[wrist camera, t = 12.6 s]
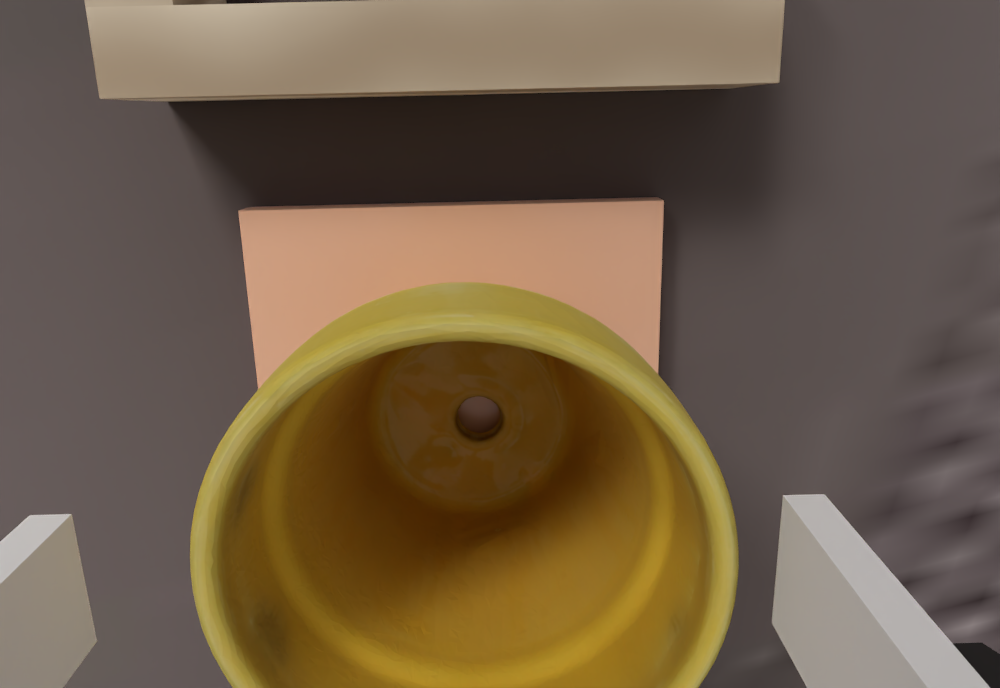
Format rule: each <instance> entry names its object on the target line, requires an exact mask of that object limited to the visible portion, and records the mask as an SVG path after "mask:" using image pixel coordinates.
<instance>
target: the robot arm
mask: <svg viewBox="0 0 1000 688" xmlns="http://www.w3.org/2000/svg"><path fill="white" fill-rule="evenodd" d="M772 624H773V626H774V628H775V630H776V632H777V633H778V635H779V637H780V639H781V641H782V643H783V644H784V646H785V648H786V650H787V652H788V654H789V655H790V657H791V659H792V661H793V663H794V665H795V667H796V668H797V670H798V672H799V674H800V676H801V678H802V679H803V681H804V683H805V685H806V687H807V688H1000V654H998V653H997V652H995V651H994V650H992V649H991V648H989V647H988V646H986V645H984V644H983V643H956V644H952V642H951V641H950V640H949V639H948V638H947V637H946V635H945V634H944V633H943V632H942V631H941V630H940V628H939V627H938V626H937V625H936V624H935V623H934V621H933V620H932V619H931V618H930V617H929V616H928V614H927V613H926V612H925V611H924V610H923V609H922V607H921V606H920V605H919V604H918V603H917V602H916V600H915V599H914V598H913V597H912V596H911V595H910V593H909V592H908V591H907V590H906V589H905V588H904V586H903V585H902V584H901V583H900V582H899V581H898V579H897V578H896V577H895V576H894V575H893V574H892V572H891V571H890V570H889V569H888V568H887V567H886V565H885V564H884V563H883V562H882V561H881V560H880V558H879V557H878V556H877V555H876V554H875V553H874V551H873V550H872V549H871V548H870V547H869V546H868V544H867V543H866V542H865V541H864V540H863V539H862V537H861V536H860V535H859V534H858V533H857V532H856V530H855V529H854V528H853V527H852V526H851V525H850V523H849V522H848V521H847V520H846V519H845V518H844V516H843V515H842V514H841V513H840V512H839V511H838V509H837V508H836V507H835V506H834V505H833V504H832V502H831V501H830V500H829V499H828V498H827V497H826V495H825V494H811V495H783V501H782V513H781V524H780V535H779V547H778V558H777V569H776V580H775V592H774V603H773V614H772ZM96 642H97V639H96V634H95V629H94V624H93V619H92V614H91V609H90V604H89V599H88V594H87V589H86V584H85V579H84V574H83V569H82V564H81V559H80V554H79V549H78V544H77V539H76V534H75V529H74V524H73V519H72V514H57V515H30V516H28V517H27V518H26V519H25V520H24V521H23V522H22V523H21V524H20V525H18V526H17V527H16V528H15V529H14V530H13V531H12V532H11V533H9V534H8V535H7V536H6V537H5V538H4V539H3V540H2V541H1V542H0V688H63V687H64V686H65V684H66V683H67V682H68V680H69V679H70V677H71V676H72V675H73V673H74V672H75V671H76V669H77V668H78V667H79V665H80V664H81V662H82V661H83V660H84V658H85V657H86V656H87V654H88V653H89V651H90V650H91V649H92V647H93V646H94V645H95V643H96Z"/></svg>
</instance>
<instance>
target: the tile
mask: <svg viewBox="0 0 1000 688" xmlns="http://www.w3.org/2000/svg"><path fill="white" fill-rule="evenodd" d="M663 212H664V200H662V199H660V198H658V197H642V198H600V199H558V200H516V201H475V202H433V203H391V204H349V205H308V206H266V207H247V208H244V209H242V210H239V211H238V213H239V222H240V231H241V239H242V248H243V257H244V266H245V275H246V284H247V293H248V302H249V311H250V320H251V329H252V338H253V347H254V355H255V364H256V373H257V382H258V389H259V388H260V387H261V386H262V385H263V383H264V382H265V381H266V380H267V379H268V378H269V377H270V376H271V374H272V373H273V372H274V371H275V370H276V369H277V368H278V367H279V366H280V365H281V364H282V363H283V362H284V361H285V360H286V359H287V358H288V357H289V356H290V355H291V354H292V353H293V352H294V351H295V350H296V349H298V348H299V347H300V346H301V345H302V344H304V343H305V342H306V341H307V340H308V339H310V338H311V337H312V336H313V335H314V334H316V333H317V332H318V331H320V330H321V329H322V328H324V327H325V326H327V325H328V324H329V323H331V322H332V321H334V320H335V319H337V318H339V317H341V316H342V315H344V314H346V313H348V312H349V311H351V310H353V309H355V308H357V307H359V306H361V305H363V304H365V303H367V302H370V301H373V300H375V299H378V298H380V297H383V296H386V295H389V294H392V293H395V292H399V291H402V290H406V289H411V288H415V287H420V286H425V285H431V284H439V283H453V282H476V283H490V284H499V285H505V286H511V287H516V288H521V289H525V290H529V291H533V292H536V293H540V294H543V295H545V296H548V297H551V298H554V299H556V300H559V301H561V302H563V303H566V304H568V305H570V306H572V307H574V308H576V309H578V310H580V311H582V312H584V313H586V314H588V315H589V316H591V317H593V318H595V319H596V320H598V321H599V322H601V323H602V324H604V325H605V326H607V327H608V328H609V329H611V330H612V331H613V332H615V333H616V334H617V335H619V336H620V337H621V338H623V339H624V340H625V341H626V342H627V343H628V344H629V345H630V346H631V347H633V348H634V349H635V350H636V351H637V352H638V353H639V354H640V355H641V356H642V357H643V358H644V359H645V361H646V362H647V363H648V364H649V365H650V366H651V367H652V368H653V369H654V370H655V372H656V373H657V374H658V363H659V333H660V303H661V273H662V242H663ZM458 416H459V419H460V422H461V423H462V425H463V426H464V427H465V428H467V429H468V430H470V431H472V432H477V433H484V432H488V431H490V430H492V429H493V428H494V427H495V426H496V425H497V424H498V422H499V419H500V411H499V408H498V406H497V405H496V404H495V403H494V402H493V401H492V400H489V399H487V398H485V397H481V396H476V397H472V398H468V399H467V400H465V401H464V402H463V403H462V404H461V406H460V408H459V410H458Z"/></svg>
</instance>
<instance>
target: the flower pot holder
mask: <svg viewBox="0 0 1000 688" xmlns="http://www.w3.org/2000/svg"><path fill="white" fill-rule="evenodd" d="M85 7H86V14H87V20H88V27H89V33H90V40H91V46H92V53H93V59H94V66H95V72H96V79H97V85H98V92H99V98H100V99H115V100H137V101H158V102H182V101H225V100H267V99H309V98H351V97H393V96H435V95H477V94H519V93H561V92H603V91H645V90H687V89H729V88H739V87H747V86H755V85H764V84H772V83H779V78H780V64H781V50H782V35H783V21H784V7H785V0H370V1H327V2H285V3H243V4H227V1H226V0H85Z"/></svg>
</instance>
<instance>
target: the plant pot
mask: <svg viewBox="0 0 1000 688" xmlns="http://www.w3.org/2000/svg"><path fill="white" fill-rule="evenodd" d="M476 396H481V397H485V398H487V399H489V400H492V401H493V402H494V403H495V404H496V405H497V406H498V408H499V411H500V419H499V422H498V424H497V425H496V426H495V427H494V428H493V429H492V430H490V431H488V432H484V433H477V432H472V431H470V430H468V429H467V428H465V427H464V426H463V425H462V423H461V422H460V419H459V416H458V410H459V408H460V406H461V404H462V403H463V402H464V401H465V400H467V399H468V398H472V397H476ZM190 568H191V580H192V588H193V594H194V599H195V604H196V609H197V612H198V616H199V619H200V623H201V626H202V630H203V632H204V635H205V637H206V639H207V642H208V644H209V646H210V649H211V651H212V653H213V656H214V657H215V659H216V661H217V663H218V664H219V666H220V668H221V670H222V672H223V673H224V675H225V676H226V678H227V680H228V681H229V683H230V684H231V686H232V687H233V688H699V686H700V685H701V683H702V682H703V680H704V679H705V677H706V675H707V674H708V672H709V670H710V669H711V667H712V665H713V663H714V662H715V660H716V657H717V655H718V653H719V651H720V649H721V646H722V644H723V641H724V639H725V636H726V633H727V630H728V627H729V624H730V621H731V616H732V612H733V608H734V603H735V596H736V589H737V580H738V569H739V552H738V538H737V530H736V522H735V517H734V512H733V508H732V503H731V499H730V496H729V493H728V490H727V487H726V484H725V481H724V478H723V476H722V473H721V471H720V468H719V466H718V464H717V462H716V460H715V458H714V456H713V454H712V452H711V450H710V448H709V447H708V445H707V443H706V441H705V439H704V437H703V436H702V434H701V433H700V431H699V430H698V428H697V427H696V425H695V424H694V422H693V421H692V419H691V418H690V416H689V415H688V413H687V412H686V410H685V409H684V407H683V406H682V404H681V403H680V402H679V400H678V399H677V398H676V396H675V395H674V393H673V392H672V391H671V389H670V388H669V387H668V386H667V385H666V383H665V382H664V381H663V380H662V379H661V378H660V376H659V375H658V374H657V373H656V372H655V370H654V369H653V368H652V367H651V366H650V365H649V364H648V363H647V362H646V361H645V359H644V358H643V357H642V356H641V355H640V354H639V353H638V352H637V351H636V350H635V349H634V348H633V347H631V346H630V345H629V344H628V343H627V342H626V341H625V340H624V339H623V338H621V337H620V336H619V335H617V334H616V333H615V332H613V331H612V330H611V329H609V328H608V327H607V326H605V325H604V324H602V323H601V322H599V321H598V320H596V319H595V318H593V317H591V316H589V315H588V314H586V313H584V312H582V311H580V310H578V309H576V308H574V307H572V306H570V305H568V304H566V303H563V302H561V301H559V300H556V299H554V298H551V297H548V296H545V295H543V294H540V293H536V292H533V291H529V290H525V289H521V288H516V287H511V286H505V285H499V284H490V283H476V282H453V283H439V284H431V285H425V286H420V287H415V288H411V289H406V290H402V291H399V292H395V293H392V294H389V295H386V296H383V297H380V298H378V299H375V300H373V301H370V302H367V303H365V304H363V305H361V306H359V307H357V308H355V309H353V310H351V311H349V312H348V313H346V314H344V315H342V316H341V317H339V318H337V319H335V320H334V321H332V322H331V323H329V324H328V325H327V326H325V327H324V328H322V329H321V330H320V331H318V332H317V333H316V334H314V335H313V336H312V337H311V338H310V339H308V340H307V341H306V342H305V343H304V344H302V345H301V346H300V347H299V348H298V349H296V350H295V351H294V352H293V353H292V354H291V355H290V356H289V357H288V358H287V359H286V360H285V361H284V362H283V363H282V364H281V365H280V366H279V367H278V368H277V369H276V370H275V371H274V372H273V373H272V374H271V376H270V377H269V378H268V379H267V380H266V381H265V382H264V383H263V385H262V386H261V387H260V388H259V389H258V391H257V392H256V393H255V394H254V395H253V397H252V398H251V399H250V400H249V402H248V403H247V404H246V405H245V406H244V408H243V409H242V410H241V412H240V413H239V414H238V416H237V417H236V419H235V420H234V421H233V423H232V424H231V426H230V427H229V429H228V430H227V432H226V433H225V435H224V437H223V438H222V440H221V441H220V443H219V445H218V447H217V449H216V451H215V453H214V455H213V457H212V459H211V462H210V464H209V466H208V469H207V471H206V473H205V476H204V479H203V482H202V485H201V488H200V491H199V494H198V498H197V502H196V506H195V510H194V516H193V523H192V529H191V541H190Z"/></svg>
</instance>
